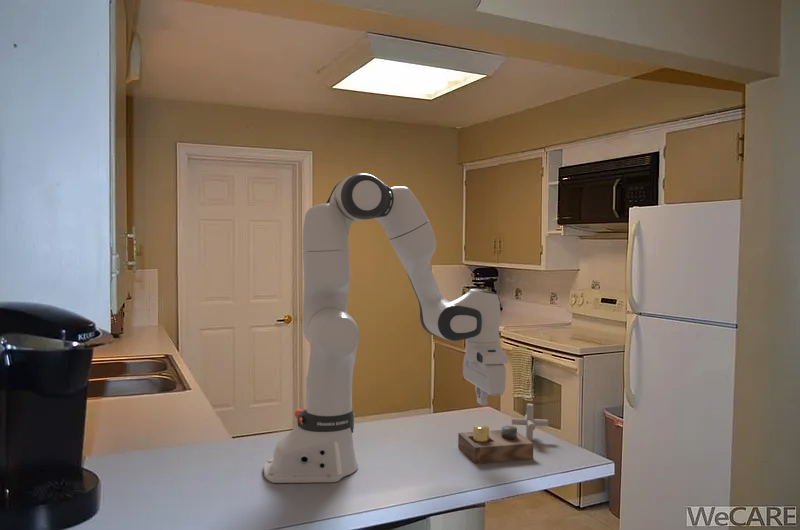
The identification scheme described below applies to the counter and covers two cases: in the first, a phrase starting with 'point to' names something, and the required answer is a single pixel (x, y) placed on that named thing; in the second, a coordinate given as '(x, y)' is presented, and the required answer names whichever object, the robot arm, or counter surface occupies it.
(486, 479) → the counter surface
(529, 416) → the pipe connector
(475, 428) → the tan cylinder
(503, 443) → the jig
